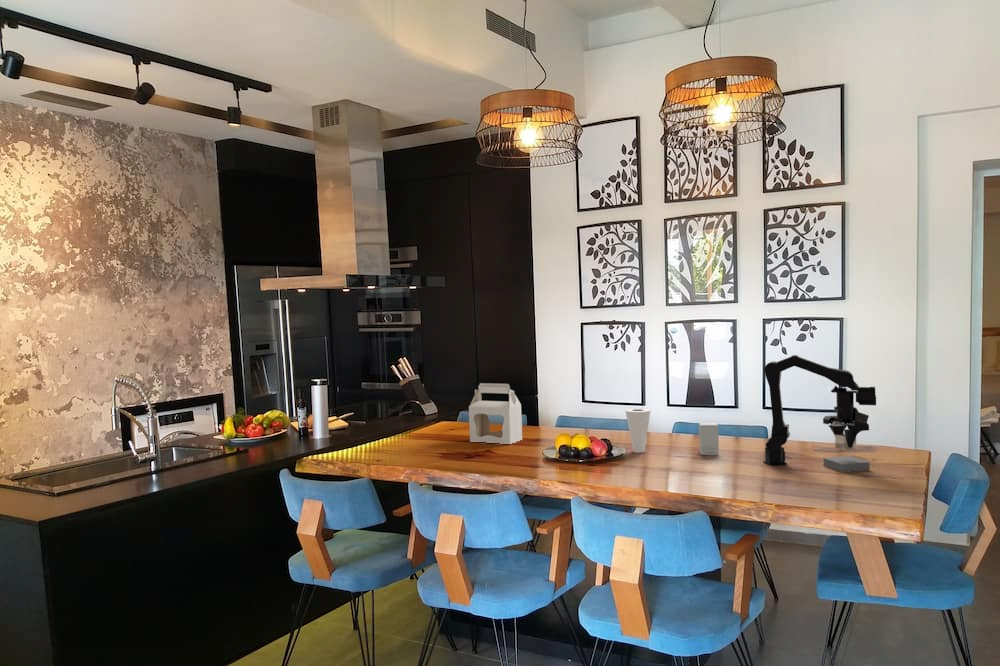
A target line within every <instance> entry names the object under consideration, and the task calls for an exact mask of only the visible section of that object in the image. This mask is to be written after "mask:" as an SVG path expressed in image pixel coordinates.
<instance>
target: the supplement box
mask: <svg viewBox="0 0 1000 666" xmlns="http://www.w3.org/2000/svg"><path fill="white" fill-rule="evenodd" d="M698 439H699V440H698V442H699V443H698V446H699V448H698V449H699V453H700V455H701V456H719V455H720V452H719V449H720V448H719V425H718V423H717V422H698Z"/></svg>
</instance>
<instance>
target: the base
mask: <svg viewBox="0 0 1000 666" xmlns="http://www.w3.org/2000/svg"><path fill="white" fill-rule="evenodd" d="M870 464H871V463H870V461H867V460H864V459H861V458H857V457H854V456H851V455H847V456H836V457H834V456H832V457H824V458H823V467H825V466H827V467H826V468H828V467H829V469H831V468H833V469H832V470H834V469H836V470H835V471H837V470H838V471H837V472H840V471H841V472H840V473H850V472H849V471H855V472H862V471H861V470H867V471H870Z"/></svg>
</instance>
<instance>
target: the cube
mask: <svg viewBox="0 0 1000 666" xmlns="http://www.w3.org/2000/svg"><path fill="white" fill-rule="evenodd" d="M834 437H835V438H834V441H835V442H834V443H835V449H836V450H837V449H838V450H841V451H854V450H857V437H856V438H855V441H854V443H853V446H852V447H851V448H849V446H848V443H847V440H846V436H845V433H844V434H839V435H834Z"/></svg>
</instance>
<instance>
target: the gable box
mask: <svg viewBox="0 0 1000 666" xmlns="http://www.w3.org/2000/svg"><path fill="white" fill-rule="evenodd" d="M477 387H478V388H477V389H474V395H473V397H472V400H471V402H470V403H469V406H468V418H469V424H468V425H469V443H471V442H486V443H500V444H499V445H501V444H512V443H514V444H516V443H518V442H517V441H519V442H521V441H523V424H522V423H523V422H522V420H523V418H522V416H523V415H522V404H521V402H520V400H519V399H518V397H517V395H516V391H515V390H513V389H511V385H510V384H509V383H495V382H494V383H492V382H490V383H487V382H486V383H485V382H480V383H479V385H478V386H477ZM482 394H506V395H507V394H508V401H507V400H506V401H505V400H482ZM488 416H502V417H503V419H504V420H503V424H502V428H501V429H500V430H497V431H492V430H491V429H490V426H491V425H490V424H491V422H490V419H489V417H488ZM499 437H500V438H499ZM520 440H521V441H520ZM515 442H516V443H515ZM486 443H485V444H486ZM512 445H513V444H512Z"/></svg>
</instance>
